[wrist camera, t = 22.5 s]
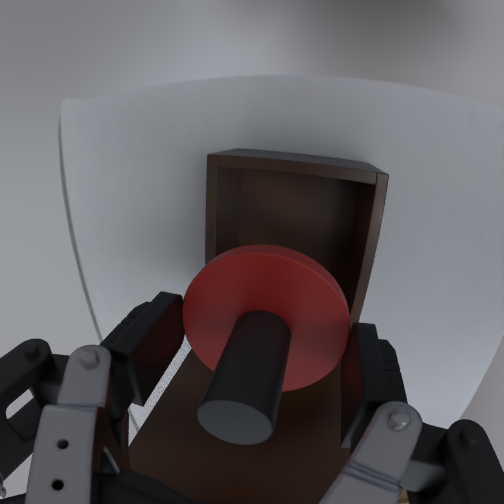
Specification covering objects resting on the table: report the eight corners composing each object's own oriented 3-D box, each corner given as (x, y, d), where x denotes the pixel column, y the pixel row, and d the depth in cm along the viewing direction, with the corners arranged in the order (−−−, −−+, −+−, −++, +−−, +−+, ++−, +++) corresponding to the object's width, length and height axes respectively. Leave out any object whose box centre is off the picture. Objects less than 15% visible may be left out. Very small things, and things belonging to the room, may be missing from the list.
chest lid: (110, 474, 10) (133, 512, 12) (360, 527, 9) (328, 553, 10) (203, 328, 24) (204, 377, 26) (351, 351, 22) (335, 399, 24)
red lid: (181, 238, 11) (99, 308, 6) (360, 249, 10) (386, 343, 5) (197, 368, 13) (153, 453, 8) (335, 384, 12) (332, 484, 7)
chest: (236, 148, 26) (207, 154, 19) (369, 163, 24) (389, 174, 17) (230, 286, 32) (205, 329, 24) (344, 302, 30) (349, 352, 22)
